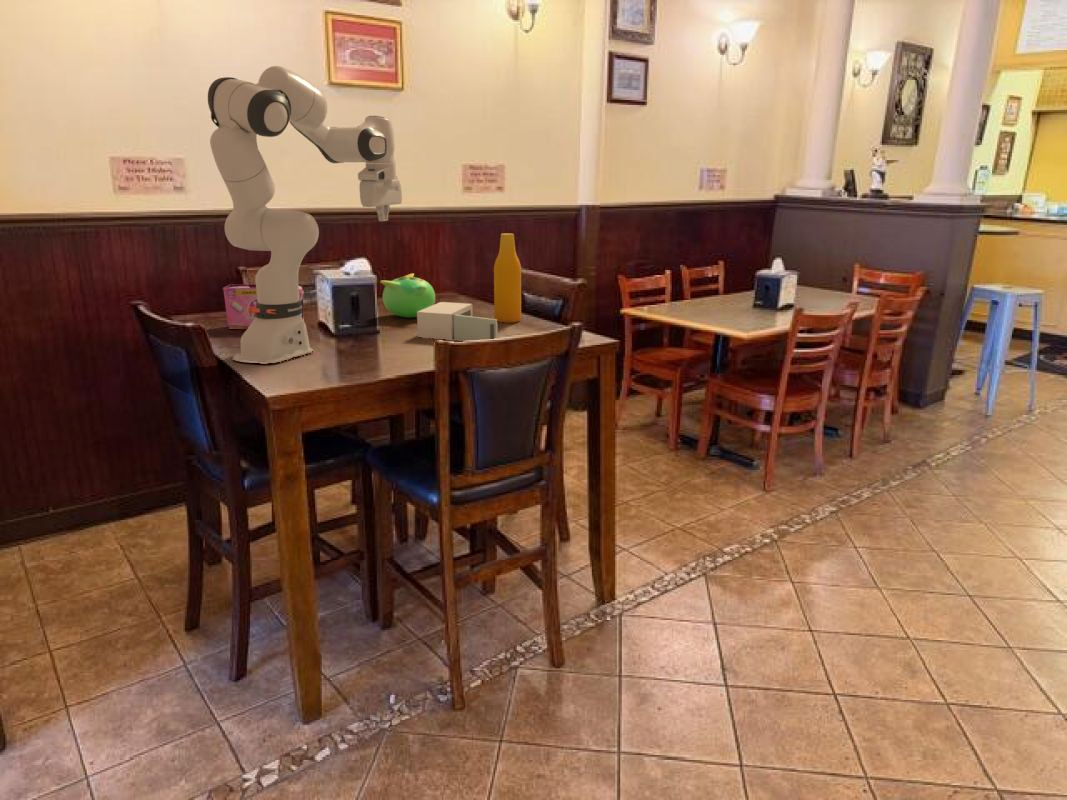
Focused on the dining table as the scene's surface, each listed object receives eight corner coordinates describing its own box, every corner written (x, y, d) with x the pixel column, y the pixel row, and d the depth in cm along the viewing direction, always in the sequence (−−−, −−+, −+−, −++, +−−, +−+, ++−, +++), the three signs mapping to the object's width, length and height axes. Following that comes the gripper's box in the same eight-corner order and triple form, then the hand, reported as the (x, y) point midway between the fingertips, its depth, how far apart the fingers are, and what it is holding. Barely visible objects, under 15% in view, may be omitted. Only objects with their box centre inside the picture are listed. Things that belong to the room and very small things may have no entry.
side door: (450, 339, 227) (449, 315, 224) (453, 338, 228) (453, 314, 226) (494, 345, 220) (494, 320, 217) (497, 344, 221) (497, 319, 219)
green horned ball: (440, 313, 268) (438, 272, 263) (429, 322, 252) (427, 279, 247) (390, 312, 269) (388, 270, 265) (377, 321, 253) (374, 277, 249)
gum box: (308, 324, 248) (305, 283, 244) (304, 329, 241) (300, 287, 237) (234, 325, 246) (229, 283, 242) (227, 330, 239) (222, 287, 235)
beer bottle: (517, 323, 251) (517, 235, 243) (491, 322, 253) (490, 234, 244) (523, 318, 260) (524, 233, 251) (497, 317, 262) (497, 232, 253)
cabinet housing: (451, 340, 227) (450, 314, 225) (417, 337, 230) (416, 311, 228) (475, 327, 246) (474, 302, 243) (444, 324, 249) (443, 300, 246)
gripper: (387, 173, 236) (389, 218, 241) (354, 174, 218) (357, 222, 222) (405, 173, 235) (407, 218, 239) (374, 174, 216) (376, 223, 220)
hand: (383, 220), depth 230 cm, fingers closed
